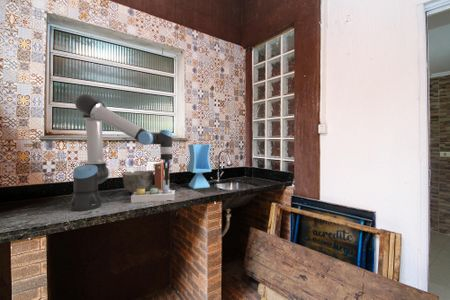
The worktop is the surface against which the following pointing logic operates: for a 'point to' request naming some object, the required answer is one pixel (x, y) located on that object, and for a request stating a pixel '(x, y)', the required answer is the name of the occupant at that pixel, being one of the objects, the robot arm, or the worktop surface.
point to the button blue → (166, 191)
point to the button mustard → (141, 191)
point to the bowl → (137, 180)
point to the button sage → (153, 190)
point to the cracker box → (159, 176)
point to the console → (152, 197)
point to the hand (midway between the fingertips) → (166, 189)
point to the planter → (199, 165)
